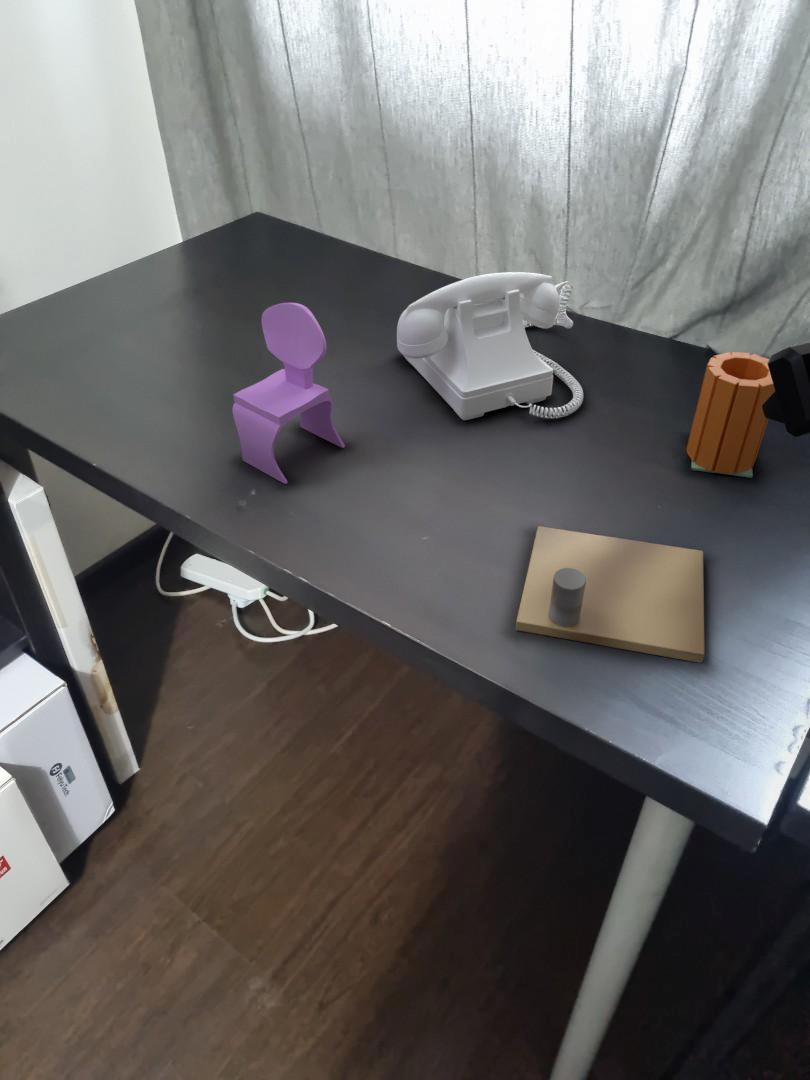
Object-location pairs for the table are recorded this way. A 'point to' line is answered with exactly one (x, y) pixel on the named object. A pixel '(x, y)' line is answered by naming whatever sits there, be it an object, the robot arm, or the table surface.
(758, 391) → the pen holder
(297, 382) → the toy chair
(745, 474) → the grey flat piece
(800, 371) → the robot arm
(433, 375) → the telephone
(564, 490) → the table surface
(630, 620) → the ring board
